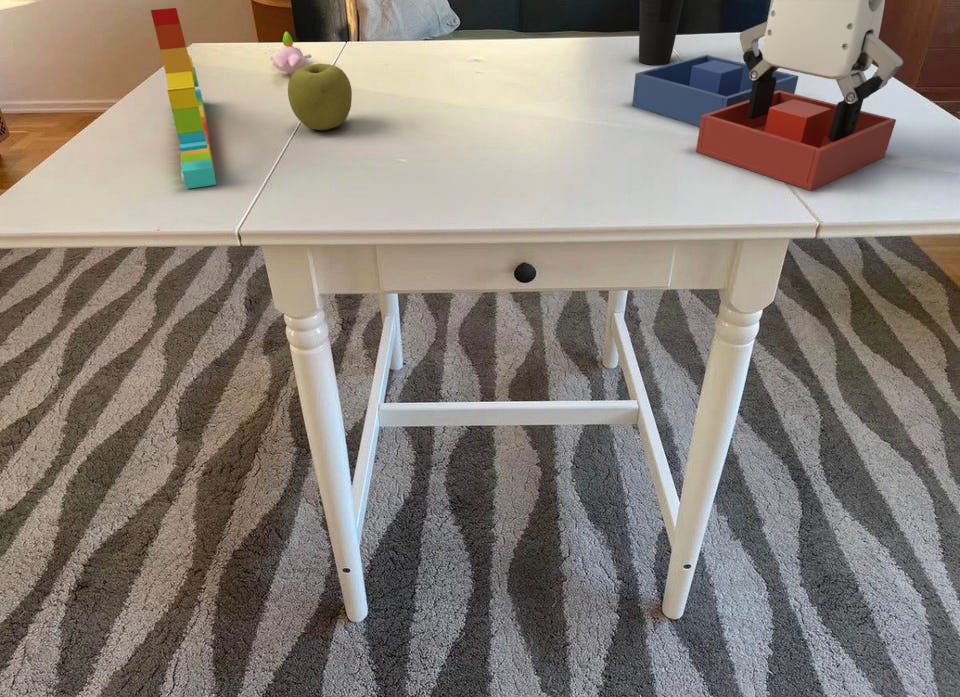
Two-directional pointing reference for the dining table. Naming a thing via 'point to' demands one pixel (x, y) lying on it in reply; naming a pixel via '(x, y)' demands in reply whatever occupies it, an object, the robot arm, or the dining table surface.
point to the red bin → (792, 144)
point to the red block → (798, 122)
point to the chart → (185, 101)
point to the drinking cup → (658, 30)
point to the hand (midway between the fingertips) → (797, 126)
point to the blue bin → (693, 90)
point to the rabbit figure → (289, 57)
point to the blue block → (717, 77)
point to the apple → (320, 96)
